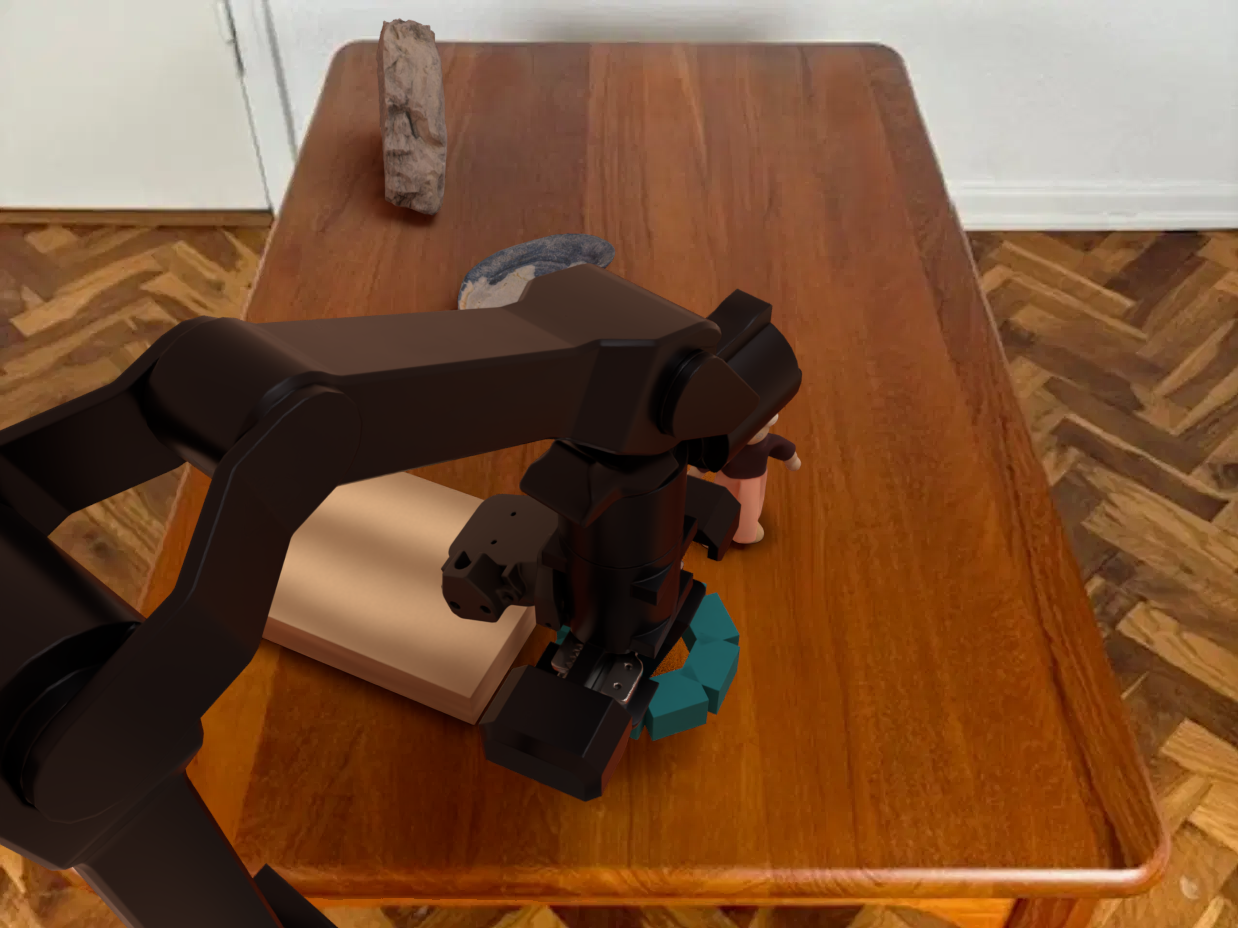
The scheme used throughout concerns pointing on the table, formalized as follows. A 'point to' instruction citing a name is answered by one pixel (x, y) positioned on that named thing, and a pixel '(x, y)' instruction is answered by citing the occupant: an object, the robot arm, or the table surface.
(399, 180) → the decorative rock
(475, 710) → the board
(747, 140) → the table surface
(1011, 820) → the table surface
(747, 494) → the grandmother figurine
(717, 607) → the ring
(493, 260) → the seashell
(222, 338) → the robot arm
